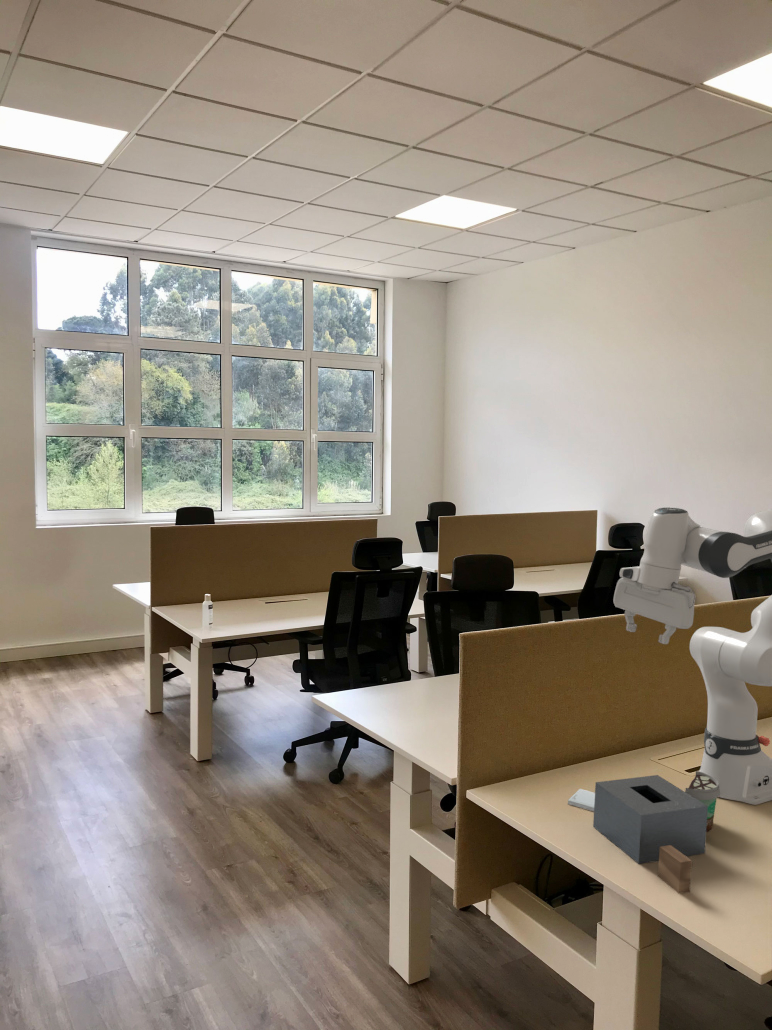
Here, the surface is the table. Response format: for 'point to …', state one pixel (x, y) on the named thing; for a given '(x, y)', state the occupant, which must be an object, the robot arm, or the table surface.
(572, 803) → the hard drive
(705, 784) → the food container
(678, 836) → the coin box
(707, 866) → the table surface
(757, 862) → the table surface
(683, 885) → the walnut tile
